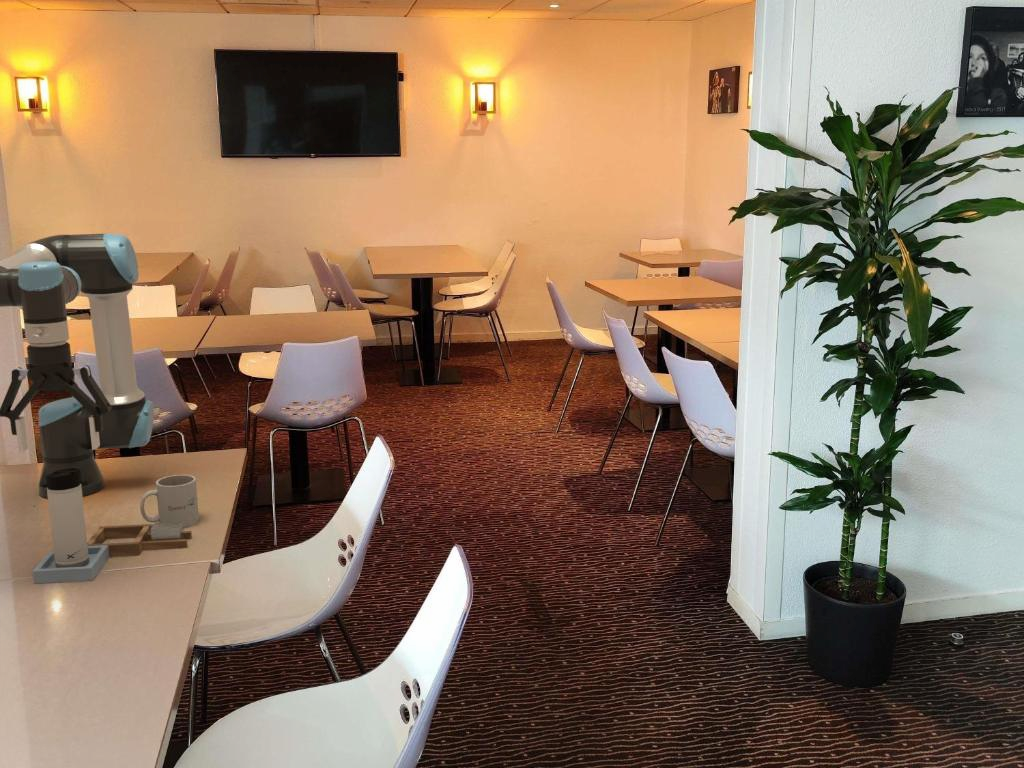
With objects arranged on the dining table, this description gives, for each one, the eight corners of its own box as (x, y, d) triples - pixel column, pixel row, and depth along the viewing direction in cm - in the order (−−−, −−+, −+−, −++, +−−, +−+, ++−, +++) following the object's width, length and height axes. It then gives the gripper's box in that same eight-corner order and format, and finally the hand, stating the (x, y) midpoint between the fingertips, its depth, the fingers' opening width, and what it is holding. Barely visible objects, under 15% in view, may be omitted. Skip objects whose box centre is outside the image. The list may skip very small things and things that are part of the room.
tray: (54, 559, 198) (52, 548, 198) (109, 556, 200) (108, 545, 199) (33, 583, 187) (32, 571, 186) (92, 580, 188) (91, 568, 188)
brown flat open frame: (101, 537, 211) (100, 526, 210) (194, 532, 213) (193, 521, 213) (85, 557, 199) (83, 546, 199) (183, 552, 202) (182, 541, 201)
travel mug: (78, 571, 189) (67, 475, 185) (48, 568, 191) (37, 473, 186) (97, 559, 195) (87, 465, 191) (68, 556, 197) (58, 464, 192)
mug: (198, 513, 225) (195, 473, 223) (199, 526, 217) (195, 484, 215) (143, 519, 221) (139, 478, 219) (141, 532, 213) (137, 490, 211)
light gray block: (155, 541, 208) (153, 524, 207) (183, 540, 209) (182, 522, 208) (152, 546, 205) (150, 529, 204) (181, 545, 206) (179, 527, 205)
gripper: (-29, 348, 178) (-15, 457, 183) (110, 344, 181) (121, 451, 186) (-13, 341, 185) (0, 446, 190) (121, 338, 188) (130, 441, 193)
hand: (60, 449), depth 188 cm, fingers open, 13 cm apart
